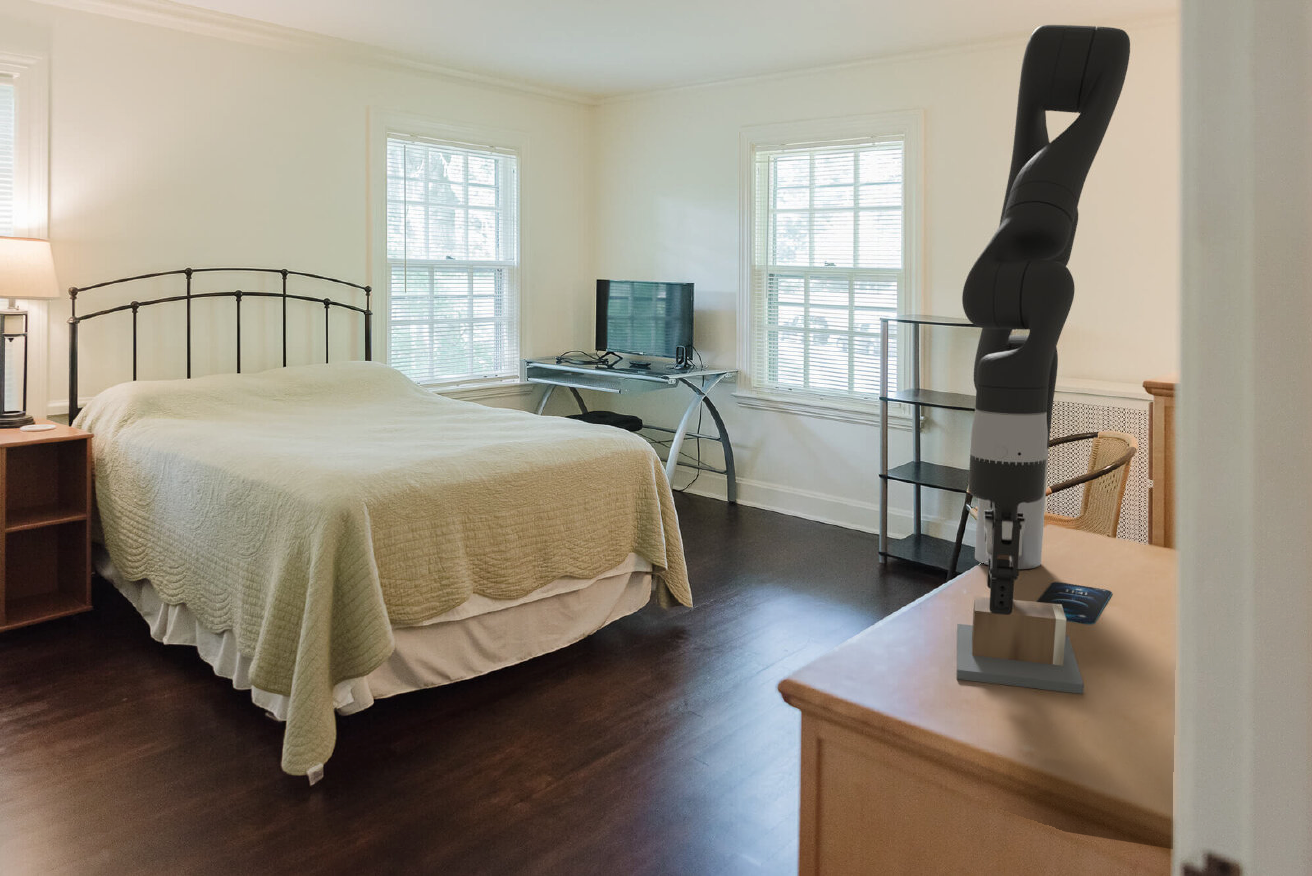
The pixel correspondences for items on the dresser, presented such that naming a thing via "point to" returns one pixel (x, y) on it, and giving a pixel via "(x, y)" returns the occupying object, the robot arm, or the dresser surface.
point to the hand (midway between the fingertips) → (998, 600)
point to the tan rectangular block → (1020, 632)
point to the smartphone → (1077, 601)
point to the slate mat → (1017, 668)
